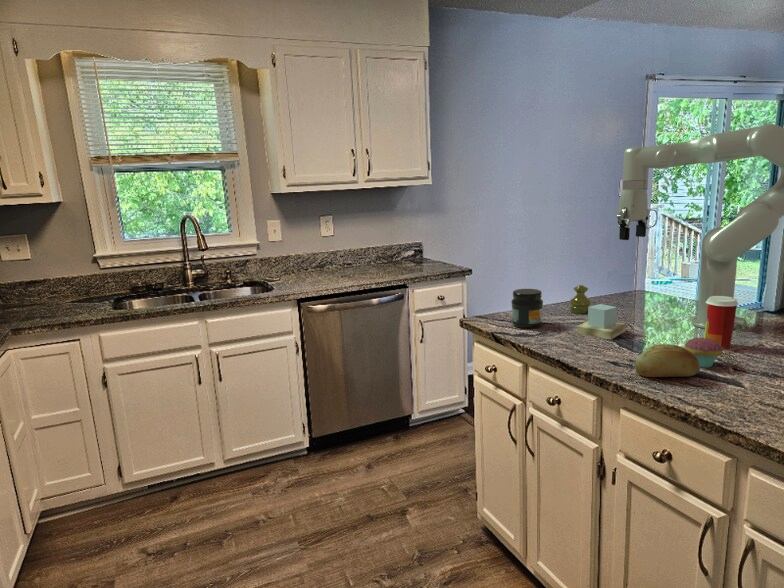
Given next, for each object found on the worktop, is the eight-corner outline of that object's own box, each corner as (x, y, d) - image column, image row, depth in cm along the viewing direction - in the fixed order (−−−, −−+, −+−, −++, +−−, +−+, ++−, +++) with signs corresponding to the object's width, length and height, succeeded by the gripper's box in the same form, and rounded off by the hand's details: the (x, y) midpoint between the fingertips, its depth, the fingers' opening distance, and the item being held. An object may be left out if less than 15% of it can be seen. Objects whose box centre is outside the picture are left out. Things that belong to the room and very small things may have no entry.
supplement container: (549, 326, 174) (549, 292, 172) (522, 331, 171) (522, 296, 168) (531, 319, 184) (531, 286, 181) (505, 323, 181) (505, 290, 178)
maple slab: (625, 332, 165) (625, 323, 164) (610, 341, 158) (611, 331, 157) (592, 327, 173) (592, 318, 172) (576, 335, 166) (577, 326, 165)
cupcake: (689, 356, 140) (692, 314, 137) (725, 363, 134) (729, 319, 131) (678, 365, 134) (682, 321, 131) (716, 373, 128) (720, 327, 125)
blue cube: (616, 325, 163) (616, 307, 162) (603, 328, 160) (604, 310, 159) (599, 321, 168) (600, 303, 167) (587, 325, 165) (588, 307, 164)
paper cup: (729, 342, 149) (734, 295, 146) (737, 350, 142) (742, 302, 139) (699, 341, 152) (702, 295, 149) (705, 349, 145) (709, 301, 142)
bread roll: (708, 383, 123) (711, 351, 121) (642, 383, 124) (644, 352, 123) (690, 368, 132) (692, 339, 130) (629, 369, 134) (630, 340, 132)
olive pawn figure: (566, 310, 194) (566, 284, 192) (585, 308, 195) (585, 282, 192) (575, 315, 187) (575, 288, 185) (594, 313, 187) (595, 286, 185)
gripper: (638, 185, 175) (636, 234, 179) (609, 187, 166) (607, 240, 169) (660, 184, 169) (657, 236, 173) (630, 187, 160) (628, 241, 163)
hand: (632, 238), depth 171 cm, fingers open, 9 cm apart
